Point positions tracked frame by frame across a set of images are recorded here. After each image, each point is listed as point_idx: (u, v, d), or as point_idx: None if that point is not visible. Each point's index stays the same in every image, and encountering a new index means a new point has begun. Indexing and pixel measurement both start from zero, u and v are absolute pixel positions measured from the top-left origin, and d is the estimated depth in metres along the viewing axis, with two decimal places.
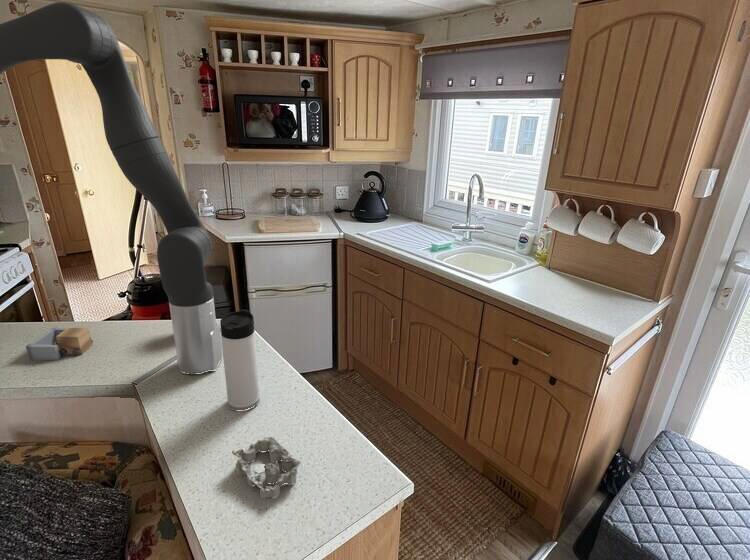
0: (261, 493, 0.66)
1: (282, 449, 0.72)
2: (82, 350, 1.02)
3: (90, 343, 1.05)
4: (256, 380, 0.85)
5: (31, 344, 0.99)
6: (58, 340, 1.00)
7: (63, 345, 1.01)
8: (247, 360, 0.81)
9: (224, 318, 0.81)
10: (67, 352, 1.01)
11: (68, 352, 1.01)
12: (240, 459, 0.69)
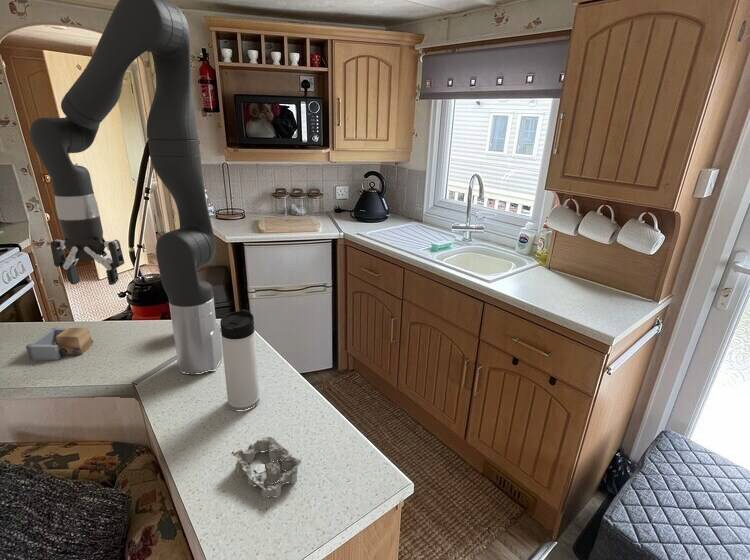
0: (263, 493, 0.66)
1: (282, 448, 0.72)
2: (82, 350, 1.02)
3: (91, 343, 1.05)
4: (256, 380, 0.85)
5: (31, 344, 0.99)
6: (58, 340, 1.00)
7: (63, 345, 1.01)
8: (247, 360, 0.81)
9: (224, 318, 0.81)
10: (67, 352, 1.01)
11: (68, 352, 1.01)
12: (240, 460, 0.69)
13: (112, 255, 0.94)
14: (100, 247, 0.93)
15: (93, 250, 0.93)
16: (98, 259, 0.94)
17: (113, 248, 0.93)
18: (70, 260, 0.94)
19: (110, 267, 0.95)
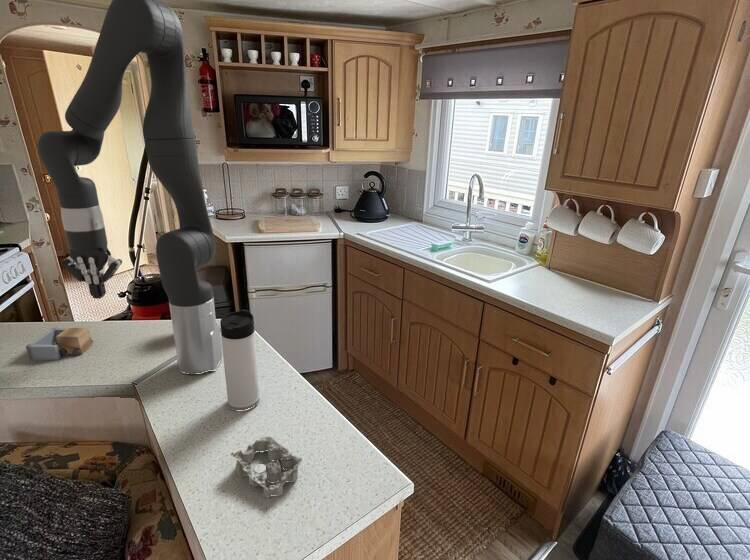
0: (264, 492, 0.66)
1: (281, 448, 0.72)
2: (82, 350, 1.02)
3: (90, 343, 1.05)
4: (256, 380, 0.85)
5: (31, 344, 0.99)
6: (58, 340, 1.00)
7: (63, 345, 1.01)
8: (247, 360, 0.81)
9: (224, 318, 0.81)
10: (67, 352, 1.01)
11: (68, 352, 1.01)
12: (240, 460, 0.69)
13: (107, 271, 0.96)
14: (102, 259, 0.95)
15: (95, 263, 0.95)
16: (93, 272, 0.95)
17: (113, 268, 0.95)
18: (85, 272, 0.95)
19: (97, 281, 0.96)
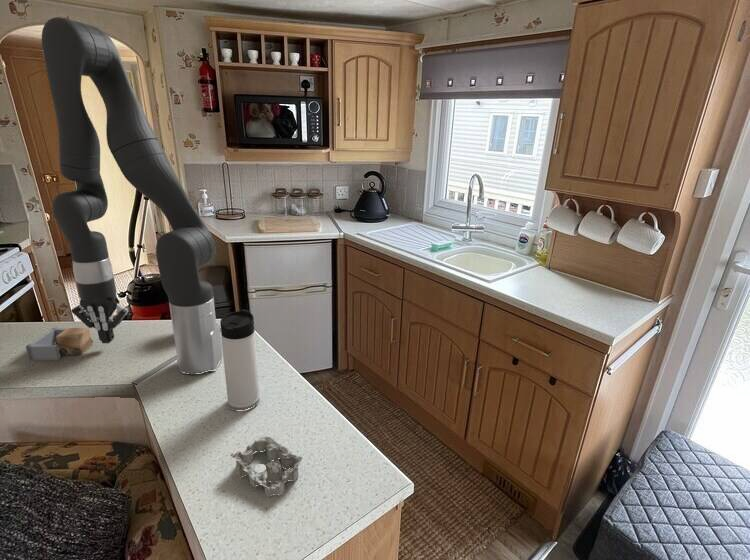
0: (266, 492, 0.66)
1: (281, 447, 0.73)
2: (82, 350, 1.02)
3: (91, 343, 1.05)
4: (256, 380, 0.85)
5: (31, 344, 0.99)
6: (58, 340, 1.00)
7: (63, 345, 1.01)
8: (247, 360, 0.81)
9: (224, 318, 0.81)
10: (67, 352, 1.01)
11: (68, 352, 1.01)
12: (240, 461, 0.68)
13: (116, 319, 1.00)
14: (111, 307, 0.99)
15: (105, 311, 0.99)
16: (103, 319, 1.00)
17: (121, 316, 1.00)
18: (95, 320, 0.99)
19: (106, 328, 1.01)
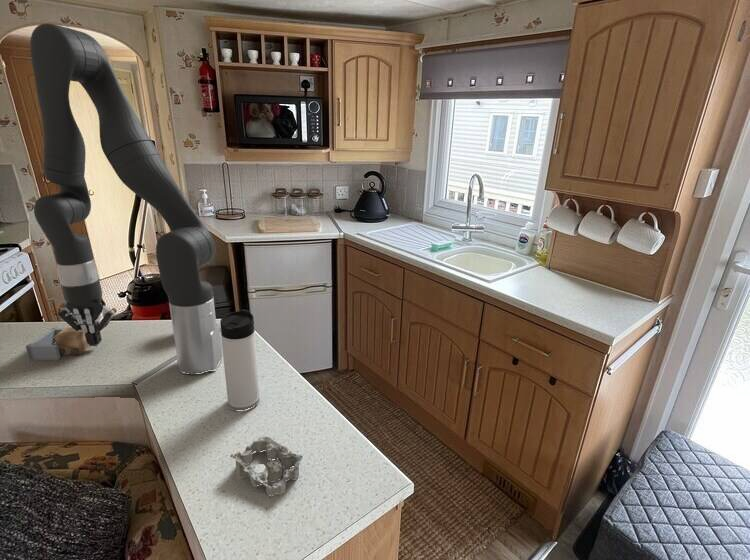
0: (267, 491, 0.66)
1: (280, 446, 0.73)
2: (80, 350, 1.02)
3: None
4: (256, 380, 0.85)
5: (31, 344, 0.99)
6: (56, 340, 1.00)
7: (62, 345, 1.01)
8: (247, 360, 0.81)
9: (224, 318, 0.81)
10: (65, 352, 1.01)
11: (66, 352, 1.01)
12: (240, 461, 0.68)
13: (102, 321, 1.00)
14: (97, 310, 0.99)
15: (91, 314, 0.99)
16: (89, 322, 0.99)
17: (108, 318, 1.00)
18: (81, 322, 0.99)
19: (93, 330, 1.01)
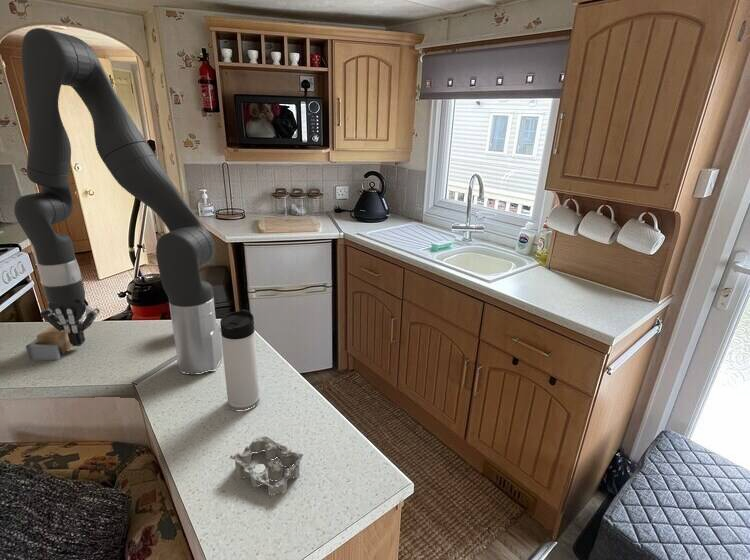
0: (269, 491, 0.66)
1: (279, 446, 0.73)
2: (63, 350, 1.02)
3: None
4: (256, 380, 0.85)
5: (31, 344, 0.99)
6: (38, 340, 1.00)
7: None
8: (247, 360, 0.81)
9: (224, 318, 0.81)
10: None
11: None
12: (241, 462, 0.68)
13: (85, 321, 1.00)
14: (80, 310, 0.99)
15: (73, 314, 0.99)
16: (72, 322, 0.99)
17: (91, 318, 1.00)
18: (64, 322, 0.99)
19: (76, 330, 1.01)
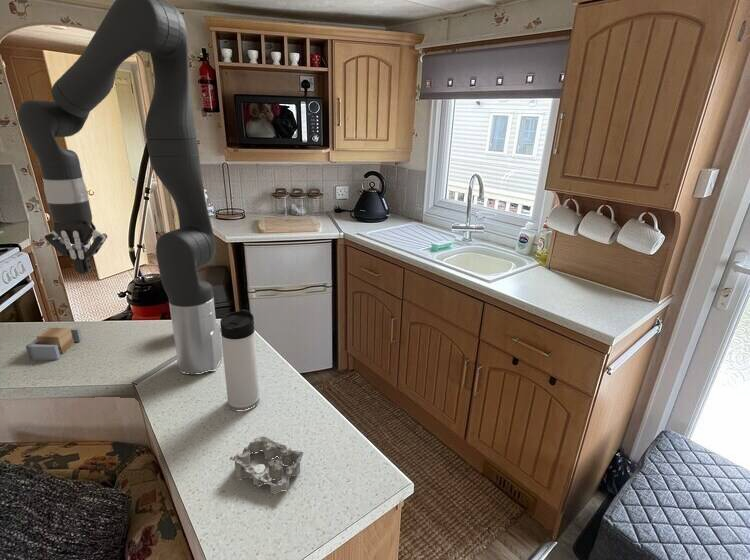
0: (272, 490, 0.67)
1: (278, 445, 0.73)
2: (63, 350, 1.02)
3: (72, 343, 1.05)
4: (256, 380, 0.85)
5: (31, 344, 0.99)
6: (38, 340, 1.00)
7: None
8: (247, 360, 0.81)
9: (224, 318, 0.81)
10: None
11: None
12: (241, 463, 0.68)
13: (92, 246, 0.95)
14: (87, 233, 0.94)
15: (80, 237, 0.94)
16: (78, 246, 0.94)
17: (98, 242, 0.94)
18: (70, 246, 0.94)
19: (82, 256, 0.95)
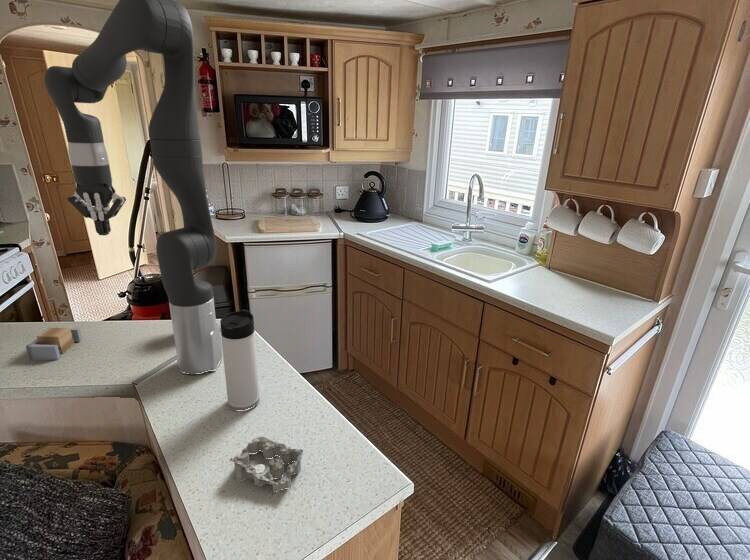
0: (274, 488, 0.67)
1: (277, 444, 0.73)
2: (63, 350, 1.02)
3: (72, 343, 1.05)
4: (256, 380, 0.85)
5: (31, 344, 0.99)
6: (38, 340, 1.00)
7: None
8: (247, 360, 0.81)
9: (224, 318, 0.81)
10: None
11: None
12: (242, 464, 0.68)
13: (112, 208, 1.00)
14: (107, 195, 0.99)
15: (101, 199, 0.99)
16: (99, 208, 1.00)
17: (118, 204, 1.00)
18: (91, 208, 1.00)
19: (103, 218, 1.01)
